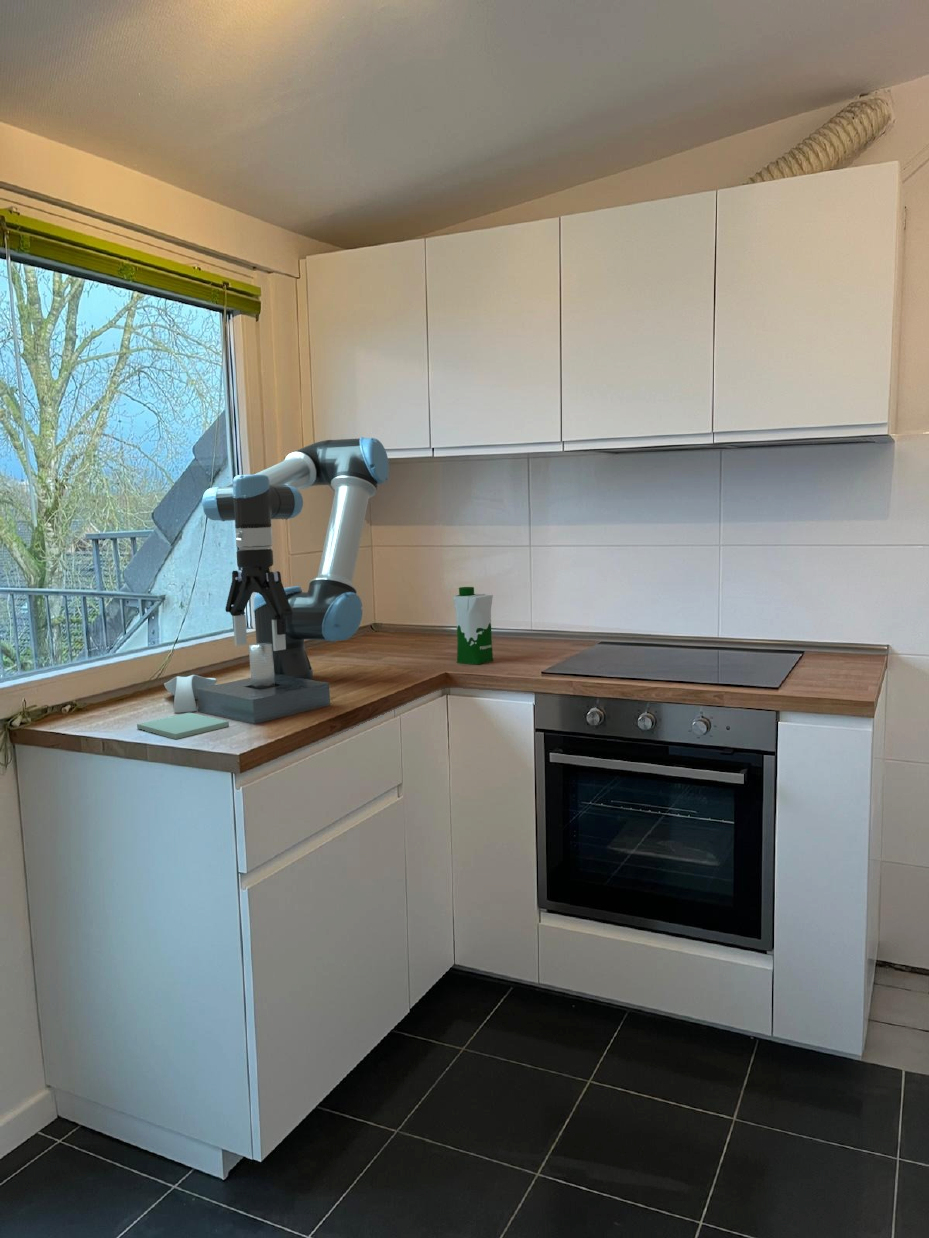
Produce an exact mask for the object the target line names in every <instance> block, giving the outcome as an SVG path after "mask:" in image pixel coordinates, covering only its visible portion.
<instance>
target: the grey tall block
mask: <svg viewBox="0 0 929 1238" xmlns="http://www.w3.org/2000/svg"><path fill="white" fill-rule="evenodd" d="M248 654H249V656H248V657H249V668H250V669H249V671H250V678H251V688H253V689H259V690H262V689H266V688H271V687H275V677H274V660H273V644H272V643H252V644H248Z"/></svg>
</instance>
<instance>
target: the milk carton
mask: <svg viewBox="0 0 929 1238" xmlns="http://www.w3.org/2000/svg"><path fill="white" fill-rule="evenodd" d="M493 596H494V595H493V594H486V593H475V587H474V586H462V587H461V586H460V587H459V588H458V595H454V596H453V597H452V599H453V602H454V604H453V605H454V608H455V613H456V616H455V617H456V640H457V645H456V647H457V650H456V663H458V664H465V665H466V664H467V665H474V664H475V665H476V666H478V665H483V664H487V663H490V662H494V655H493V644H492V641H493V639H492V603H493V598H494V597H493Z"/></svg>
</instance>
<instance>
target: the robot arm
mask: <svg viewBox="0 0 929 1238" xmlns="http://www.w3.org/2000/svg"><path fill="white" fill-rule="evenodd" d="M389 474H390V462H389V457H388V454H387V451H386V448H385V446H384V445H383V443H381V441H380V440H379V439H377V438H374V437H363V436H362V437H360V438H345V439H341V438H340V439H326V440H321V441H318V442H314V443H311V444H308V445H306V446H304V447H302V448H299V449H298V450H295V451H293V452H291V453H288V455H287V456H286V457H285V458H284V460H283V461H280V462H278V463H277V464H274V465H273V466H270V467H268V468H265V469H263V470H261V471H259V472H256V473H255V474H238V475H235V476H234V478H233V480H232V483H231V484H230V485H227V486H226V485H225V486H216V487H210V488H208V489H206V490H205V492H204V493H203V496H202V499H201V506H202V510H203V513H204V514H205V517H207V519H209V520H211V521H221V522H225V521H226V522H227V521H228V522H230V521H234V528H235V542H236V543H235V545H236V547H237V548H239V549H237V551H236V565H237V567H238V568H241V569H239V570H233V571H232V572H231V573H232V574H231V584H230V588H229V591H228V596H227V600H226V603H225V609H224V610H225V612H226V613H229V614H230V615H231V616H232V628H233V635H234V639H233V640H234V646H235V647H239V646H246V645H248V638H247V637H248V636H247V635H248V633H247V619H246V618H247V617H246V612H245V609H246V607H247V606H248V603H249V601H250V599H251V597H252V594H253V593H256V594H255V595H254V598H253V613H254V628H255V639H256V641H255V642H256V643H272V644H273V660H274V674H278V675H284V676H290V677H297V678H303V679H309V680H314V670H313V667H312V665H311V663H310V660H309V657H308V654H307V651H306V648H305V641H306V640H307V641H328V642H337V641H347V640H349V639H350V638H351V637H353V636H354V635H355V634H357V631H358V630H359V628H360V625H361V621H362V617H363V609H362V607H363V602H362V600H361V598H360V596H359V595H358V594H357V592H358V590H357V588H356V587H355V586H354V584H353V582H354V581H353V579H354V575H355V571H356V565H357V560H358V555H359V550H360V544H361V539H362V535H363V529H364V523H365V519H366V515H367V508H368V503H369V499H370V498H373V497H374V496H375V495H376V493H377V488H378V485H382V484H384V483H386V482H387V480H388V479H389ZM313 486H314V487H316V486H317V487H318V486H331V488H332V489H333V490H334V496H333V500H332V501H333V502H332V506H331V511H330V515H329V520H328V523H327V524H328V525H327V528H326V529H327V530H326V533H325V534H326V535H325V539H324V544H323V548H322V553H321V558H320V563H319V568H318V571H317V572H318V573H317V576H316V577H314V578H313V579H311V580H310V581H309V585H308V589H307V591H304V592H303V590H302V587H301V586H299V585H296V586H295V585H294V586H288V587H284V586H283V585H284V584H283V582H282V576H281V572H280V571H276V570H275V571H270V568H271V567H272V566H273V565H274V551H273V549H272V548H270V547H273V543H274V542H273V528H272V520H283V521H284V520H289V519H294V518H296V517H298V516H299V515H300V513H301V512H302V509H303V506H304V499H303V495H302V493H301V492H300V490H305V489H308V488H310V487H313ZM299 489H300V490H299ZM256 643H255V644H256Z"/></svg>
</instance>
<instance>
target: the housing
mask: <svg viewBox="0 0 929 1238" xmlns="http://www.w3.org/2000/svg"><path fill="white" fill-rule="evenodd" d="M274 677H275V687H271V688H266V689H262V690H259V689H253V688H251V677H248V678H243V679H237V680H235V681H233V680H232V681H228V682H224V683H219V684H215V685H213V686H208V687H203V688H198V689H197V699H196V700H197V712H199V713H204V714H208V715H213V716H217V717H220V718H226V719H231V720H233V721H238V722H243V723H248V724H253V725H255V724H256V725H257V724H260V723H265V722H269V721H272V720H273V721H274V720H277V719H281V718H284V717H289V716H292V715H297V714H301V713H305V712H309V711H312V710H317V709H321V708H326V707H330V706H331V696H330V693H331V692H330V691H331V690H330V682H326V681H320V680H314V679H312V680H309V679H303V678H297V677H290V676H284V675H278V674H274Z"/></svg>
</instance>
